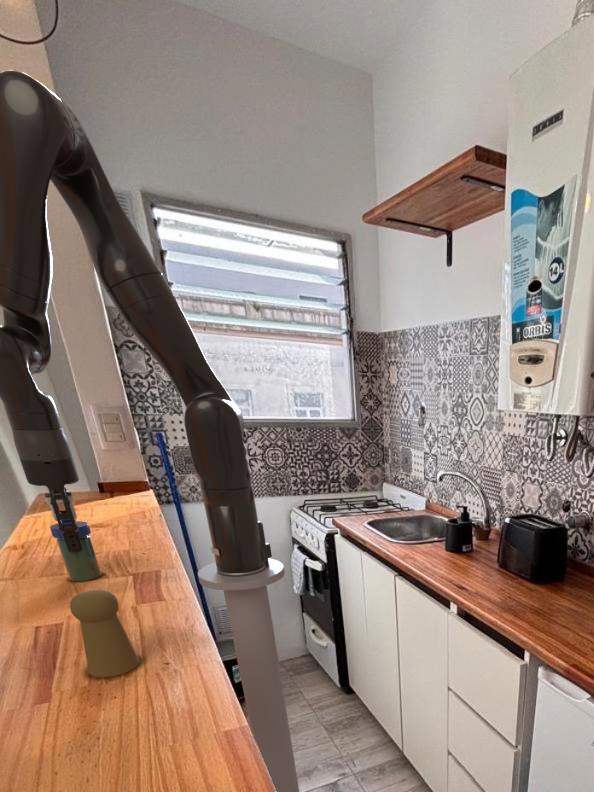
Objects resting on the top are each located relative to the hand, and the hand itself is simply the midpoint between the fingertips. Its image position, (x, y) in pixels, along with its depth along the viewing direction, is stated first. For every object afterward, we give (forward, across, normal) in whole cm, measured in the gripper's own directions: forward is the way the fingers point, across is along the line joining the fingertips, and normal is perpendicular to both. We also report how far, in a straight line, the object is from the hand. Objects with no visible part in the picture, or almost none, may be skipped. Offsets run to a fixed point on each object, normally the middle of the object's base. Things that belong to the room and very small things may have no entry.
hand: (75, 546), depth 99 cm
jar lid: (-4, 0, 0) cm, 4 cm away
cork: (+6, +43, +1) cm, 44 cm away
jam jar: (+6, 0, 0) cm, 6 cm away
